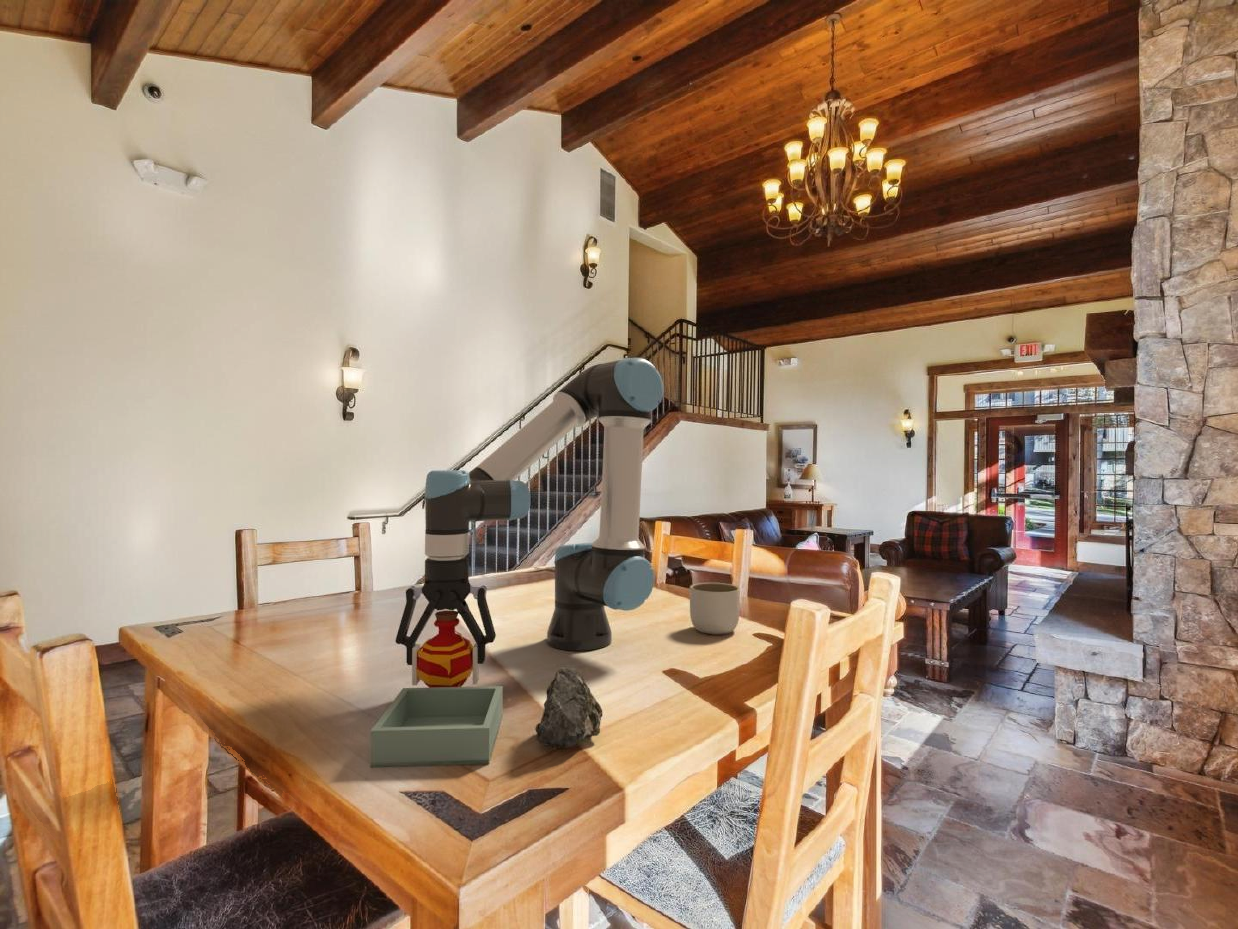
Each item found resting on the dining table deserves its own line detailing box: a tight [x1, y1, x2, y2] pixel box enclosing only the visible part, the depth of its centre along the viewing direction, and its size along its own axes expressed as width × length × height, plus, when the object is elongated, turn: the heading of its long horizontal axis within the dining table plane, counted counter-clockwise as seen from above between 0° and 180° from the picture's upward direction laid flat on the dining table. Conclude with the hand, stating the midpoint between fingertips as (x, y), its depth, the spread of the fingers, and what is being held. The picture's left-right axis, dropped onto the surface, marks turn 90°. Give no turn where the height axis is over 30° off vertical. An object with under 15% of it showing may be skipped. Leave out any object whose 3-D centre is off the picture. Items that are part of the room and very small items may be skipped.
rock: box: [535, 666, 603, 750], centre depth 93 cm, size 12×10×10 cm
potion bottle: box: [416, 609, 474, 688], centre depth 109 cm, size 10×10×15 cm
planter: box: [689, 582, 741, 635], centre depth 154 cm, size 12×12×11 cm
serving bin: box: [369, 685, 504, 768], centre depth 92 cm, size 16×16×5 cm
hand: (446, 682), depth 109 cm, fingers closed on potion bottle, 10 cm apart
